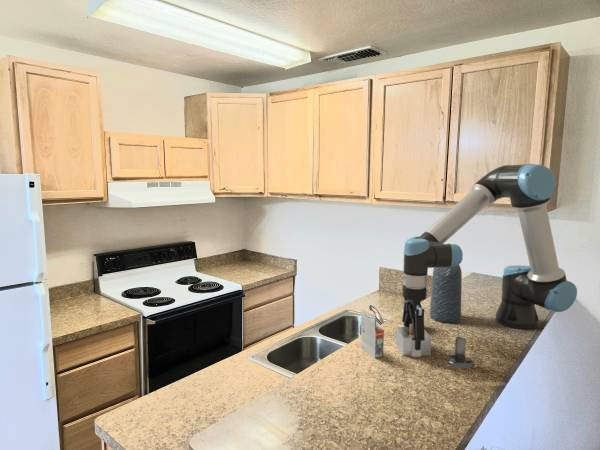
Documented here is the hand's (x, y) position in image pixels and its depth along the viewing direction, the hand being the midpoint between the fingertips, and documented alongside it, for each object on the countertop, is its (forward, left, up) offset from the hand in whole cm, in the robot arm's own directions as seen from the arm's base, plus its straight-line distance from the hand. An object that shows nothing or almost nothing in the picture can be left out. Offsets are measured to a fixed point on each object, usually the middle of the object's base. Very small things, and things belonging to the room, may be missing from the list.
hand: (411, 351), depth 127 cm
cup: (-5, -17, 0) cm, 18 cm away
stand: (0, 0, 0) cm, 0 cm away
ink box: (+14, +2, 0) cm, 14 cm away
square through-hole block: (0, 0, +1) cm, 1 cm away
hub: (-12, +9, 0) cm, 15 cm away
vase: (-23, -31, 0) cm, 39 cm away
